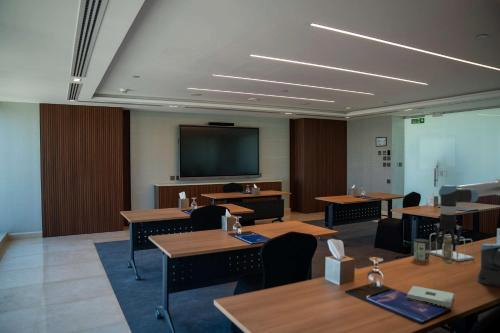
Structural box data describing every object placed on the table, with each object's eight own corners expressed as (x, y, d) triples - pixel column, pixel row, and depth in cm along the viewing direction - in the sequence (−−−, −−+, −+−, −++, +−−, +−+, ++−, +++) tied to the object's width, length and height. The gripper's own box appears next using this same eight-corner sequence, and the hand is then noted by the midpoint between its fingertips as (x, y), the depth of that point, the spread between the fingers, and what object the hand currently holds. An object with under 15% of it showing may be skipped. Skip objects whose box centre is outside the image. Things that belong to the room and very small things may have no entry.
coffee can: (425, 257, 267) (425, 238, 266) (431, 261, 256) (432, 241, 256) (411, 257, 267) (411, 238, 267) (417, 261, 256) (417, 241, 256)
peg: (452, 263, 194) (453, 236, 194) (451, 265, 190) (452, 238, 190) (443, 261, 197) (443, 235, 196) (442, 263, 193) (442, 237, 193)
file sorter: (474, 259, 260) (474, 238, 260) (457, 262, 254) (457, 240, 253) (444, 251, 284) (444, 231, 283) (428, 253, 277) (428, 233, 277)
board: (453, 298, 188) (453, 293, 188) (450, 307, 176) (450, 302, 176) (413, 290, 200) (413, 285, 200) (407, 298, 188) (407, 293, 188)
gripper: (466, 214, 191) (466, 257, 192) (432, 211, 201) (431, 252, 201) (465, 215, 185) (464, 260, 186) (430, 213, 195) (429, 255, 195)
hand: (447, 256), depth 193 cm, fingers closed on peg, 3 cm apart
